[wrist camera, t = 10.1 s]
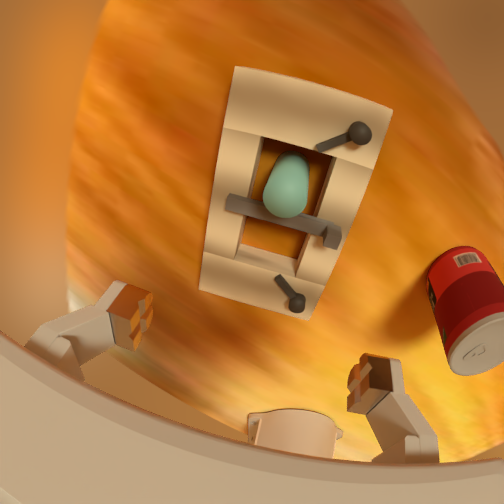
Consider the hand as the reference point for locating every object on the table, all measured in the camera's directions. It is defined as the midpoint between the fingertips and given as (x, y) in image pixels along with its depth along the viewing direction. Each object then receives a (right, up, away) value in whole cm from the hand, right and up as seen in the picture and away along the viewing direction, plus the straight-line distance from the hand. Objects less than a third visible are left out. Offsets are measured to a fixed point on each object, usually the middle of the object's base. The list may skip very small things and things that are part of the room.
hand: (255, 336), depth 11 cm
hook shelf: (+3, +8, +17) cm, 19 cm away
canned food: (+22, +1, +18) cm, 28 cm away
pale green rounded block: (+3, +10, +15) cm, 19 cm away
